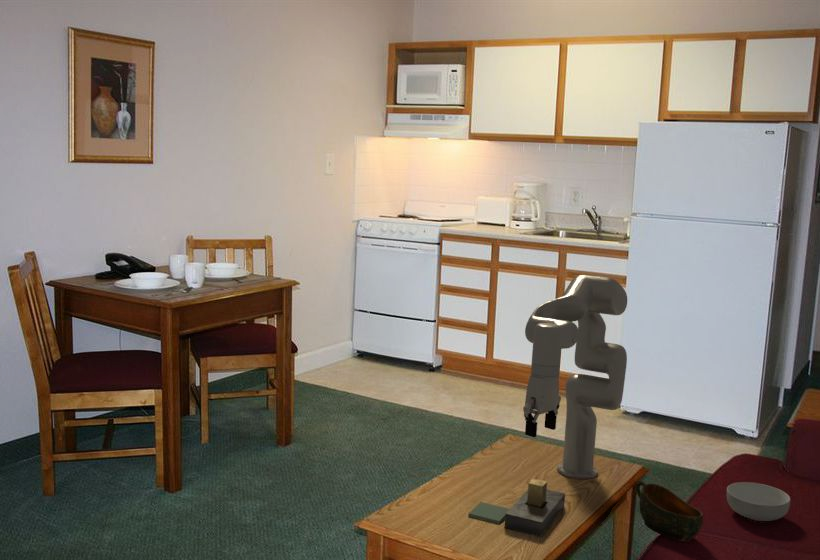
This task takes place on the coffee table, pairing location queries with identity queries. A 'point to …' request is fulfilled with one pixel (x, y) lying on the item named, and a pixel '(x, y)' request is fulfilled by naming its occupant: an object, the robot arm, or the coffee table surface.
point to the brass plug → (537, 493)
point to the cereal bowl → (758, 501)
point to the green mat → (488, 512)
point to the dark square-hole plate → (534, 514)
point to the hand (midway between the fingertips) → (540, 432)
